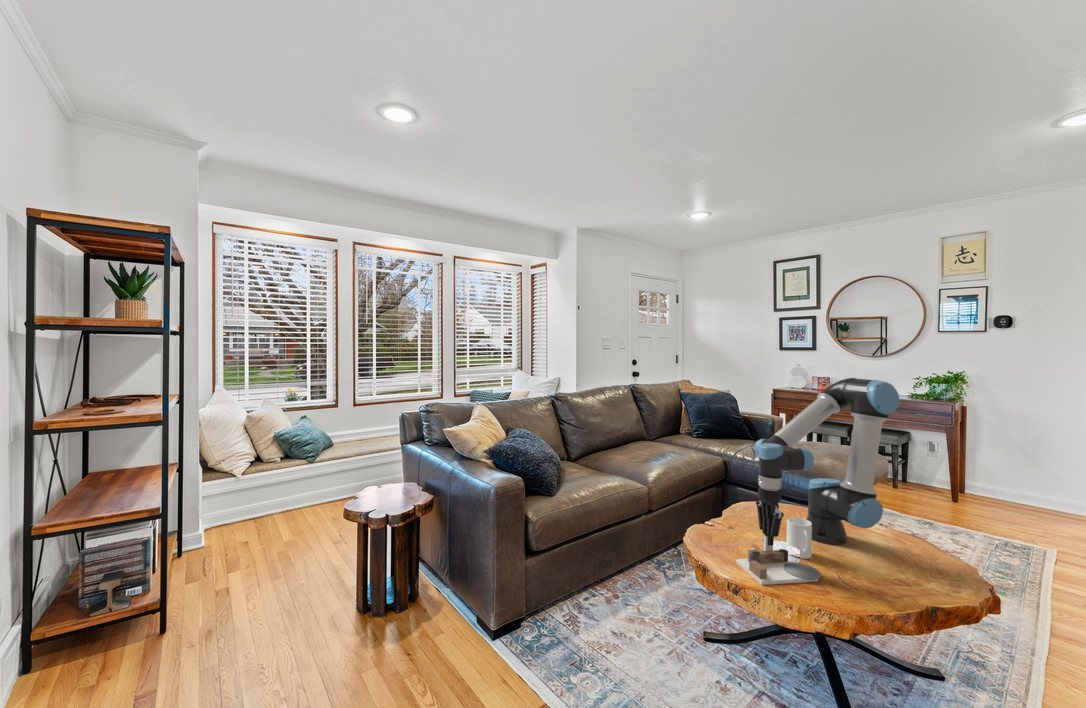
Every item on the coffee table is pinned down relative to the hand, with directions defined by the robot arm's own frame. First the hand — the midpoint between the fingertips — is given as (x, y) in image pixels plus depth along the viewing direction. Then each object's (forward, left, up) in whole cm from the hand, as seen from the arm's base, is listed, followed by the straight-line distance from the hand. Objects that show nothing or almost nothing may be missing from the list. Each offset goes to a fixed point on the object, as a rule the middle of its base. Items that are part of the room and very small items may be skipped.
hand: (767, 552), depth 166 cm
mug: (-14, -2, -3) cm, 15 cm away
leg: (+2, +4, -1) cm, 5 cm away
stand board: (+1, +8, -3) cm, 9 cm away
